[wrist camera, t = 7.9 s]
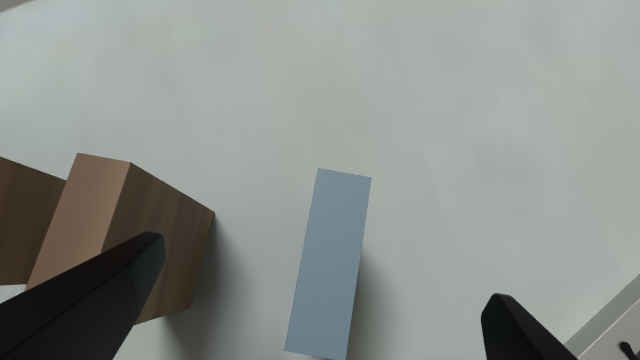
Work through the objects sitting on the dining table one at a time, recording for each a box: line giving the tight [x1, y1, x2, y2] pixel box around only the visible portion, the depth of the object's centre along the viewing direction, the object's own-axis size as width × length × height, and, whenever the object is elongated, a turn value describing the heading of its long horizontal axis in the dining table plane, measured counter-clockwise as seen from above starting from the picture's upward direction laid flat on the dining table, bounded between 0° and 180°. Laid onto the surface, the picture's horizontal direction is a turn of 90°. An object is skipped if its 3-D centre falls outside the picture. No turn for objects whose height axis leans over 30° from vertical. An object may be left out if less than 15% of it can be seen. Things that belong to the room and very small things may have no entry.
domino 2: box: [25, 153, 214, 326], centre depth 14 cm, size 2×5×9 cm, turn 170°
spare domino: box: [284, 168, 371, 360], centre depth 14 cm, size 2×5×9 cm, turn 170°
